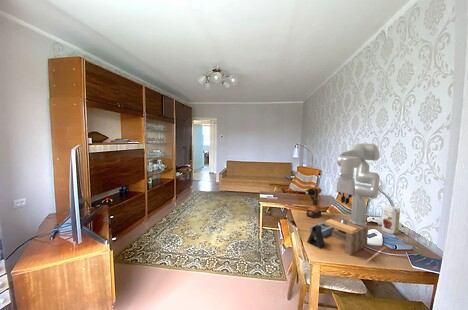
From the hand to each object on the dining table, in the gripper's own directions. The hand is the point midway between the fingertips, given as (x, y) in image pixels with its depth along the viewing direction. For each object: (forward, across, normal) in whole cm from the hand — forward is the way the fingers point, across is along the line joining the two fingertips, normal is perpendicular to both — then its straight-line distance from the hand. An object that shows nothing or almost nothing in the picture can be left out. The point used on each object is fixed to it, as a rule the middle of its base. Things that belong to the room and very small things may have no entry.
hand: (345, 202), depth 131 cm
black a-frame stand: (+25, -6, -22) cm, 34 cm away
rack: (+25, -12, -5) cm, 28 cm away
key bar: (+12, +5, -15) cm, 19 cm away
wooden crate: (+25, +4, -7) cm, 26 cm away
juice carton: (+25, +14, +40) cm, 49 cm away
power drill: (+25, -35, +18) cm, 47 cm away
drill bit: (+24, 0, 0) cm, 24 cm away
